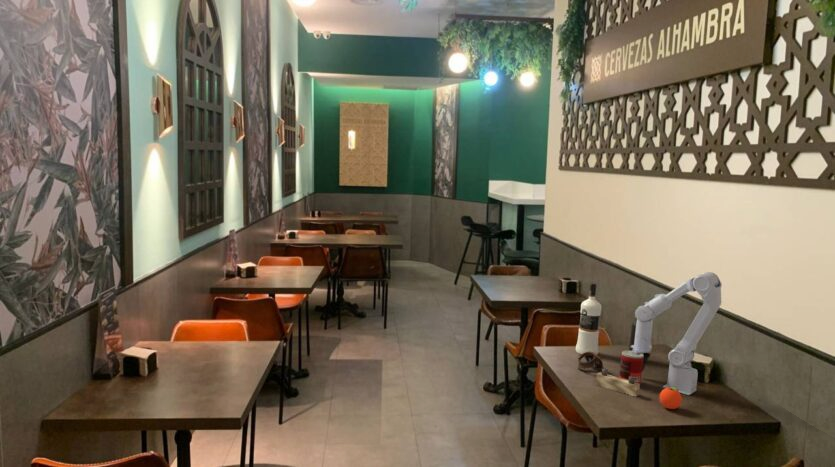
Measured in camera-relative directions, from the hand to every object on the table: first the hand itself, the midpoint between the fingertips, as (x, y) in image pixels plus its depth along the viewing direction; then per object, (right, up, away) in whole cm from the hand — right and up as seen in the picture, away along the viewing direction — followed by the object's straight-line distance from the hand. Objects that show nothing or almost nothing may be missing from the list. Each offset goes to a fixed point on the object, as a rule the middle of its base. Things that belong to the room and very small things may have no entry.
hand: (639, 371), depth 236 cm
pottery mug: (-17, -1, +6) cm, 18 cm away
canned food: (-6, -3, -6) cm, 9 cm away
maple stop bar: (-13, -3, -14) cm, 20 cm away
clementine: (0, -6, -28) cm, 29 cm away
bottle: (+7, 0, +22) cm, 23 cm away
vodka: (-13, +1, +27) cm, 30 cm away
